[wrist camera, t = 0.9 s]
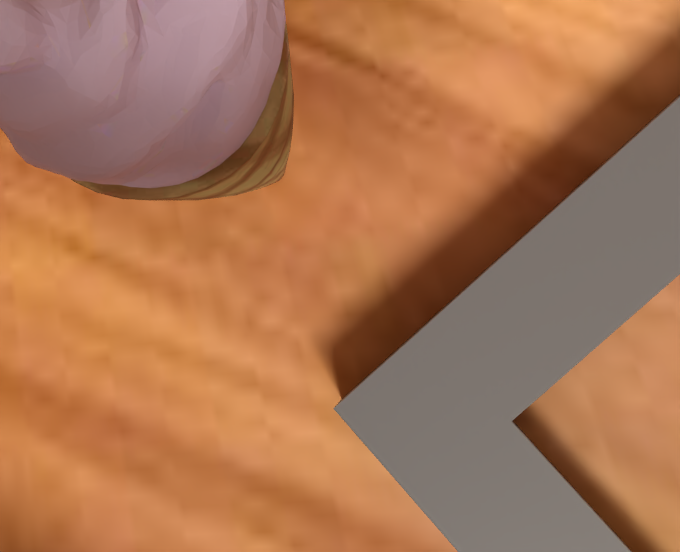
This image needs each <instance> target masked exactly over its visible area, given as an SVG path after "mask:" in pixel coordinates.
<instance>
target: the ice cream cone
mask: <svg viewBox="0 0 680 552" xmlns="http://www.w3.org/2000/svg"><path fill="white" fill-rule="evenodd" d="M293 107H294V94H293V83H292V73H291V63H290V54H289V45H288V35H287V26H286V17H285V6H284V0H0V128H1V129H2V130H3V131H4V133H5V134H6V135H7V137H8V138H9V140H10V142H11V143H12V145H13V147H14V149H15V150H16V151H17V153H18V154H19V155H20V156H21V157H22V158H23V159H24V160H25V161H26V162H27V163H29V164H31V165H33V166H35V167H38V168H41V169H45V170H48V171H51V172H53V173H57V174H61V175H63V176H65V177H68V178H70V179H71V180H73V181H74V182H76V183H78V184H80V185H82V186H84V187H87V188H89V189H91V190H93V191H95V192H97V193H101V194H105V195H109V196H113V197H117V198H122V199H135V200H202V199H211V198H219V197H226V196H234V195H238V194H242V193H246V192H250V191H253V190H257V189H260V188H263V187H265V186H268V185H271V184H273V183H275V182H277V181H279V180H280V179H281V178H282V176H283V175H284V172H285V168H286V164H287V160H288V156H289V152H290V147H291V139H292V129H293Z"/></svg>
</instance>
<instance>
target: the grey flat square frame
mask: <svg viewBox="0 0 680 552" xmlns="http://www.w3.org/2000/svg"><path fill="white" fill-rule="evenodd" d="M679 274H680V95H679V96H678V97H677V98H676V99H675V100H674V101H672V102H671V103H670V104H669V105H668V106H667V107H666V108H665V109H664V110H662V111H661V112H660V113H659V114H658V115H657V116H656V117H655V118H654V119H652V120H651V121H650V122H649V123H648V124H647V125H646V126H645V127H644V128H642V129H641V130H640V131H639V132H638V133H637V134H636V135H635V136H634V137H632V138H631V139H630V140H629V141H628V142H627V143H626V144H625V145H624V146H622V147H621V148H620V149H619V150H618V151H617V152H616V153H615V154H614V155H612V156H611V157H610V158H609V159H608V160H607V161H606V162H605V163H604V164H602V165H601V166H600V167H599V168H598V169H597V170H596V171H595V172H594V173H592V174H591V175H590V176H589V177H588V178H587V179H586V180H585V181H584V182H582V183H581V184H580V185H579V186H578V187H577V188H576V189H575V190H574V191H572V192H571V193H570V194H569V195H568V196H567V197H566V198H565V199H564V200H562V201H561V202H560V203H559V204H558V205H557V206H556V207H555V208H554V209H552V210H551V211H550V212H549V213H548V214H547V215H546V216H545V217H544V218H542V219H541V220H540V221H539V222H538V223H537V224H536V225H535V226H534V227H532V228H531V229H530V230H529V231H528V232H527V233H526V234H525V235H524V236H522V237H521V238H520V239H519V240H518V241H517V242H516V243H515V244H514V245H512V246H511V247H510V248H509V249H508V250H507V251H506V252H505V253H504V254H502V255H501V256H500V257H499V258H498V259H497V260H496V261H495V262H494V263H493V264H491V265H490V266H489V267H488V268H487V269H486V270H485V271H484V272H483V273H481V274H480V275H479V276H478V277H477V278H476V279H475V280H474V281H473V282H471V283H470V284H469V285H468V286H467V287H466V288H465V289H464V290H463V291H461V292H460V293H459V294H458V295H457V296H456V297H455V298H454V299H453V300H451V301H450V302H449V303H448V304H447V305H446V306H445V307H444V308H443V309H441V310H440V311H439V312H438V313H437V314H436V315H435V316H434V317H433V318H431V319H430V320H429V321H428V322H427V323H426V324H425V325H424V326H423V327H421V328H420V329H419V330H418V331H417V332H416V333H415V334H414V335H413V336H411V337H410V338H409V339H408V340H407V341H406V342H405V343H404V344H403V345H401V346H400V347H399V348H398V349H397V350H396V351H395V352H394V353H393V354H391V355H390V356H389V357H388V358H387V359H386V360H385V361H384V362H383V363H381V364H380V365H379V366H378V367H377V368H376V369H375V370H374V371H373V372H371V373H370V374H369V375H368V376H367V377H366V378H365V379H364V380H363V381H361V382H360V383H359V384H358V385H357V386H356V387H355V388H354V389H353V390H351V391H350V392H349V393H348V394H347V395H346V396H345V397H344V398H343V399H341V401H340V402H339V403H338V404H337V405H336V406H335V407H334V410H335V411H336V412H337V413H338V414H339V415H340V416H341V418H342V419H343V420H344V421H345V422H346V423H347V425H348V426H349V427H350V428H351V429H352V430H353V431H354V433H355V434H356V435H357V436H358V437H359V438H360V439H361V441H362V442H363V443H364V444H365V445H366V446H367V447H368V449H369V450H370V451H371V452H372V453H373V454H374V456H375V457H376V458H377V459H378V460H379V461H380V462H381V464H382V465H383V466H384V467H385V468H386V469H387V470H388V472H389V473H390V474H391V475H392V476H393V477H394V479H395V480H396V481H397V482H398V483H399V484H400V485H401V487H402V488H403V489H404V490H405V491H406V492H407V493H408V495H409V496H410V497H411V498H412V499H413V500H414V502H415V503H416V504H417V505H418V506H419V507H420V508H421V510H422V511H423V512H424V513H425V514H426V515H427V516H428V518H429V519H430V520H431V521H432V522H433V523H434V525H435V526H436V527H437V528H438V529H439V530H440V531H441V533H442V534H443V535H444V536H445V537H446V538H447V539H448V541H449V542H450V543H451V544H452V545H453V546H454V547H455V549H456V550H457V551H458V552H632V551H631V550H630V549H629V548H628V547H627V545H626V544H625V543H624V542H623V541H622V540H621V539H620V538H619V537H618V536H617V535H616V533H615V532H614V531H613V530H612V529H611V528H610V527H609V526H608V525H607V524H606V523H605V521H604V520H603V519H602V518H601V517H600V516H599V515H598V514H597V513H596V512H595V510H594V509H593V508H592V507H591V506H590V505H589V504H588V503H587V502H586V501H585V500H584V498H583V497H582V496H581V495H580V494H579V493H578V492H577V491H576V490H575V489H574V488H573V486H572V485H571V484H570V483H569V482H568V481H567V480H566V479H565V478H564V477H563V475H562V474H561V473H560V472H559V471H558V470H557V469H556V468H555V467H554V466H553V465H552V463H551V462H550V461H549V460H548V459H547V458H546V457H545V456H544V455H543V454H542V453H541V451H540V450H539V449H538V448H537V447H536V446H535V445H534V444H533V443H532V442H531V440H530V439H529V438H528V437H527V436H526V435H525V434H524V433H523V432H522V431H521V430H520V428H519V427H518V426H517V425H516V424H515V423H514V422H513V420H514V419H515V418H516V417H517V416H518V415H519V414H521V413H522V412H523V411H524V410H525V409H526V408H527V407H529V406H530V405H531V404H532V403H533V402H534V401H535V400H537V399H538V398H539V397H540V396H541V395H542V394H543V393H545V392H546V391H547V390H548V389H549V388H550V387H551V386H553V385H554V384H555V383H556V382H557V381H558V380H559V379H561V378H562V377H563V376H564V375H565V374H566V373H567V372H569V371H570V370H571V369H572V368H573V367H574V366H575V365H577V364H578V363H579V362H580V361H581V360H582V359H583V358H585V357H586V356H587V355H588V354H589V353H590V352H591V351H593V350H594V349H595V348H596V347H597V346H598V345H599V344H601V343H602V342H603V341H604V340H605V339H606V338H607V337H609V336H610V335H611V334H612V333H613V332H614V331H615V330H616V329H618V328H619V327H620V326H621V325H622V324H623V323H624V322H626V321H627V320H628V319H629V318H630V317H631V316H632V315H634V314H635V313H636V312H637V311H638V310H639V309H640V308H642V307H643V306H644V305H645V304H646V303H647V302H648V301H650V300H651V299H652V298H653V297H654V296H655V295H656V294H658V293H659V292H660V291H661V290H662V289H663V288H664V287H666V286H667V285H668V284H669V283H670V282H671V281H672V280H674V279H675V278H676V277H677V276H678V275H679Z"/></svg>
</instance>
